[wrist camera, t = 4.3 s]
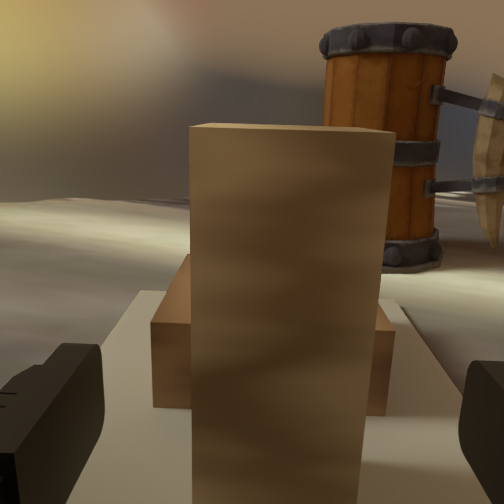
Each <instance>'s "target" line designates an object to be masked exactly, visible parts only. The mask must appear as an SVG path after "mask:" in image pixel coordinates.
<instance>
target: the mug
mask: <svg viewBox="0 0 504 504" xmlns="http://www.w3.org/2000/svg"><path fill="white" fill-rule="evenodd" d="M457 45H458V41H457V38H456V36H455V35H454V32H453V30H452V29H451V28H448V27H443V26H438V25H433V24H426V23H406V22H405V23H404V22H384V23H363V24H354V25H348V26H342V27H336V28H333V29H332V30H330V31H329V32H327V33H326V34H324V37H323V38H322V39H321V41H320V44H319V48H320V52H321V53H322V54H323V58H324V59H326V60H327V66H326V82H325V97H324V112H323V126H329V127H359V128H366V129H373V130H380V131H387V132H394V133H396V142H395V151H394V160H393V169H392V179H391V188H390V197H389V207H388V216H387V225H386V235H385V244H384V253H383V263H382V272H381V273H417V272H421V271H425V270H429V269H433V268H436V267H440V264H441V261H442V257H443V251H442V248H441V246H440V245H439V243H437V242H438V239H439V237H438V235H439V230H438V229H436V228H434V205H435V192H450V191H466V190H472V193H474V195H475V200H476V205H477V211H478V216H479V222H480V226H481V228H482V230H483V232H484V234H485V236H486V238H487V240H488V242H489V243H490V245H491V247H492V248H498V241H499V227H500V220H501V213H502V206H503V198H504V78H502V77H500V76H498V75H496V74H494V73H493V75H492V78H491V81H490V84H489V87H488V90H487V93H486V96H485V98H483V99H479V98H475V97H472V96H468V95H465V94H461V93H457V92H454V91H450V90H446V89H445V86H443V83H444V75H445V67H446V61H448V60H450V59H451V58H452V53H453V52H454V51H455V50H456V48H457ZM443 102H447V103H451V104H455V105H459V106H463V107H466V108H470V109H474V110H478V114H479V117H478V122H477V129H476V136H475V142H474V148H473V177H472V179H469V180H455V181H444V182H436V178H435V169H436V163H437V162H438V156H439V149H440V141H439V140H437V139H436V136H437V129H438V121H439V113H440V106H441V105H443Z"/></svg>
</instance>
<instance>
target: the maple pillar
mask: <svg viewBox="0 0 504 504" xmlns="http://www.w3.org/2000/svg"><path fill="white" fill-rule="evenodd" d="M395 142H396V133H394V132H387V131H380V130H373V129H366V128H359V127H329V126H295V125H259V124H227V123H208V124H202V125H197V126H191V127H189V143H190V145H189V147H190V281H191V416H192V504H357V496H358V486H359V477H360V468H361V458H362V449H363V440H364V430H365V421H366V412H367V402H368V393H369V384H370V374H371V365H372V356H373V346H374V337H375V328H376V319H377V309H378V300H379V291H380V281H381V272H382V263H383V253H384V244H385V235H386V225H387V216H388V207H389V197H390V188H391V179H392V169H393V160H394V151H395Z"/></svg>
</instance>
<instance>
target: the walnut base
mask: <svg viewBox="0 0 504 504" xmlns="http://www.w3.org/2000/svg"><path fill="white" fill-rule="evenodd" d="M395 332H396V331H395V329H394V328H393V326H392V324H391V323H390V321H389V319H388V318H387V316H386V314H385V313H384V311H383V309H382V308H381V306H380V304H379V303H378V309H377V319H376V328H375V337H374V346H373V356H372V365H371V374H370V384H369V393H368V402H367V412H366V416H385V415H386V407H387V398H388V390H389V382H390V373H391V365H392V357H393V348H394V340H395ZM150 334H151V365H152V395H153V408H178V409H191V281H190V254H187V256H186V257H185V259H184V261H183V263H182V265H181V267H180V268H179V270H178V272H177V274H176V276H175V278H174V279H173V281H172V283H171V285H170V287H169V289H168V290H167V292H166V294H165V296H164V298H163V300H162V301H161V303H160V305H159V307H158V309H157V311H156V312H155V314H154V316H153V318H152V320H151V321H150Z"/></svg>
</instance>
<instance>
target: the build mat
mask: <svg viewBox="0 0 504 504" xmlns="http://www.w3.org/2000/svg"><path fill="white" fill-rule="evenodd" d="M166 292H167V291H143V290H140V292H139V293H138V295H137V296H136V297H135V299H134V300H133V302H132V303H131V305H130V306H129V307H128V309H127V310H126V312H125V313H124V315H123V316H122V317H121V319H120V320H119V322H118V323H117V325H116V326H115V327H114V329H113V330H112V332H111V333H110V335H109V336H108V337H107V339H106V340H105V342H104V343H103V345H102V346H101V347H100V349H101V353H102V367H103V383H104V399H105V417H104V424H103V428H102V432H101V435H100V437H99V439H98V441H97V443H96V445H95V447H94V449H93V451H92V453H91V455H90V457H89V459H88V461H87V463H86V465H85V467H84V469H83V471H82V473H81V475H80V477H79V479H78V480H77V482H76V484H75V486H74V488H73V490H72V492H71V494H70V496H69V498H68V500H67V502H66V504H192V416H191V409H178V408H153V395H152V365H151V334H150V321H151V320H152V318H153V316H154V314H155V312H156V311H157V309H158V307H159V305H160V303H161V301H162V300H163V298H164V296H165V294H166ZM378 303H379V304H380V306H381V308H382V309H383V311H384V313H385V314H386V316H387V318H388V319H389V321H390V323H391V324H392V326H393V328H394V329H395V331H396V332H395V340H394V348H393V357H392V365H391V373H390V382H389V390H388V398H387V407H386V415H385V416H366V421H365V430H364V440H363V449H362V458H361V468H360V477H359V486H358V496H357V504H492V503H491V502H490V500H489V498H488V496H487V495H486V493H485V491H484V489H483V488H482V486H481V484H480V483H479V481H478V479H477V477H476V476H475V474H474V472H473V470H472V469H471V467H470V465H469V463H468V462H467V460H466V458H465V457H464V455H463V453H462V450H461V447H460V443H459V437H458V423H459V417H460V411H461V405H462V399H463V396H462V395H461V393H460V392H459V391H458V389H457V388H456V386H455V385H454V383H453V382H452V381H451V379H450V378H449V376H448V375H447V374H446V372H445V371H444V369H443V368H442V366H441V365H440V364H439V362H438V361H437V359H436V358H435V356H434V355H433V354H432V352H431V351H430V349H429V348H428V346H427V345H426V344H425V342H424V341H423V339H422V338H421V337H420V335H419V334H418V332H417V331H416V329H415V328H414V327H413V325H412V324H411V322H410V321H409V319H408V318H407V317H406V315H405V314H404V312H403V311H402V310H401V308H400V307H399V305H398V304H397V302H396V301H395V300H394V299H379V300H378Z"/></svg>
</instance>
